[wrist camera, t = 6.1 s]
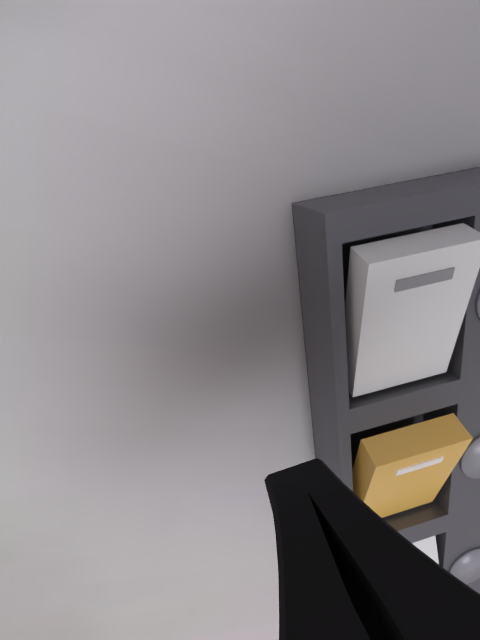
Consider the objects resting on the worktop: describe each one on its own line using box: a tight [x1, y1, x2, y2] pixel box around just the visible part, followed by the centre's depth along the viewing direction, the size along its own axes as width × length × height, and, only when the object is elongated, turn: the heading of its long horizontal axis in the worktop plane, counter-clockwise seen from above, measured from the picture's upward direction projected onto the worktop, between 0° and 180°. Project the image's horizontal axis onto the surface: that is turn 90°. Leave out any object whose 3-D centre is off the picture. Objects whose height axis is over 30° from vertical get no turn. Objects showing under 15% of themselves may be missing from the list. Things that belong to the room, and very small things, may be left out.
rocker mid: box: [352, 413, 473, 518], centre depth 21 cm, size 5×7×2 cm
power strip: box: [292, 167, 480, 594], centre depth 23 cm, size 10×32×4 cm, turn 9°
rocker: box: [345, 223, 480, 397], centre depth 17 cm, size 5×7×2 cm
